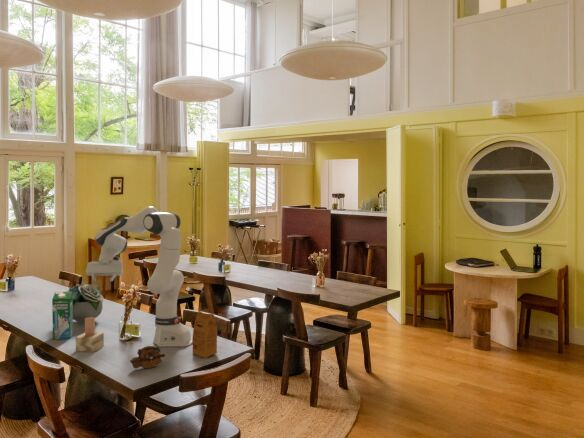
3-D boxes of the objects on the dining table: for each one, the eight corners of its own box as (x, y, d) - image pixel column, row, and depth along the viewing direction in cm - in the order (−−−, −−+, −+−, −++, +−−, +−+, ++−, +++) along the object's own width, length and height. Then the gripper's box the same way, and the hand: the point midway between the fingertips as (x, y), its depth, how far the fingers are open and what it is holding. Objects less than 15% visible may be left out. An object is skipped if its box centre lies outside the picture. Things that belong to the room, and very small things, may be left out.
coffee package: (204, 349, 266) (204, 308, 264) (219, 354, 257) (219, 312, 256) (189, 353, 258) (189, 311, 257) (204, 359, 250) (204, 316, 248)
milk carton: (52, 339, 277) (52, 295, 276) (55, 335, 286) (55, 291, 284) (70, 338, 280) (69, 294, 278) (73, 333, 288) (72, 291, 287)
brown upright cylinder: (96, 333, 266) (96, 317, 265) (91, 336, 261) (91, 319, 261) (88, 333, 267) (87, 316, 266) (83, 336, 262) (82, 319, 261)
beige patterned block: (103, 345, 269) (103, 332, 268) (93, 351, 259) (93, 338, 258) (86, 344, 270) (86, 331, 270) (75, 350, 260) (75, 337, 260)
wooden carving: (132, 372, 231) (132, 351, 230) (129, 369, 235) (129, 348, 234) (166, 365, 241) (166, 345, 240) (163, 362, 245) (163, 342, 244)
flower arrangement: (96, 328, 299) (96, 288, 298) (55, 327, 300) (54, 287, 298) (112, 317, 324) (111, 280, 322) (74, 316, 325) (73, 279, 323)
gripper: (87, 258, 291) (82, 277, 282) (123, 258, 293) (119, 277, 284) (89, 264, 295) (84, 284, 286) (125, 264, 298) (121, 283, 289)
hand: (102, 280), depth 285 cm, fingers open, 8 cm apart
